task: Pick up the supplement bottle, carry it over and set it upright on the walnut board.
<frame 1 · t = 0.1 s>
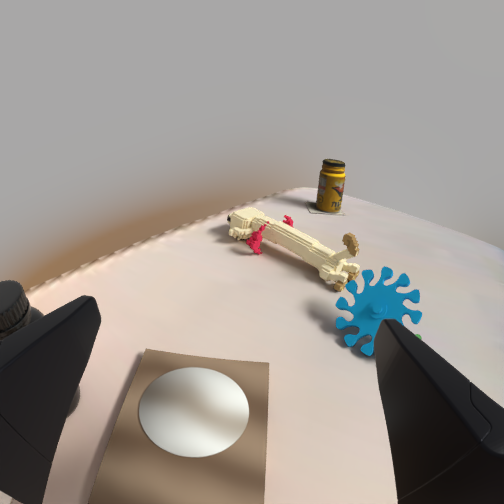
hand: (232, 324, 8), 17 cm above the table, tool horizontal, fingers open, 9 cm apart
walnut board: (184, 466, 17), on the table
cat figure: (282, 255, 48), on the table
supplement bottle: (54, 398, 20), on the table
condiment: (324, 209, 68), on the table
blue piece: (371, 339, 30), on the table
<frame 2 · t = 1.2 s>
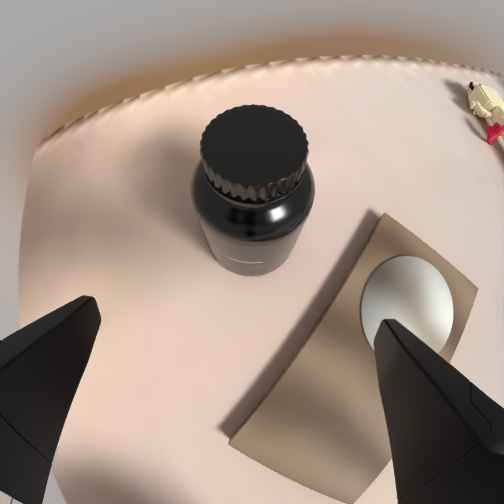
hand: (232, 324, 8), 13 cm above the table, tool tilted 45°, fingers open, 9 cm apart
walnut board: (375, 365, 20), on the table
supplement bottle: (252, 237, 23), on the table
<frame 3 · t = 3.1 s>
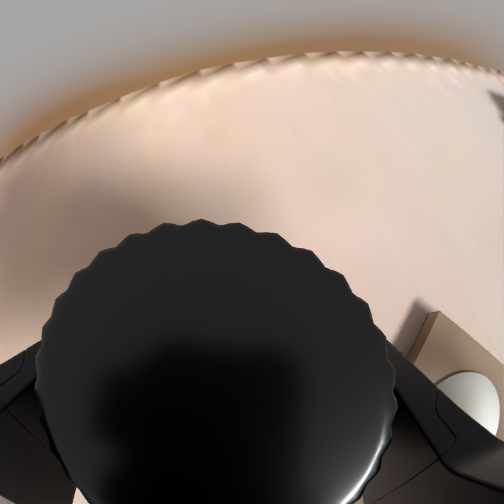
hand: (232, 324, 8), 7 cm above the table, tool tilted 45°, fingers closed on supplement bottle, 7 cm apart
walnut board: (394, 500, 11), on the table
supplement bottle: (238, 357, 14), on the table, touching gripper
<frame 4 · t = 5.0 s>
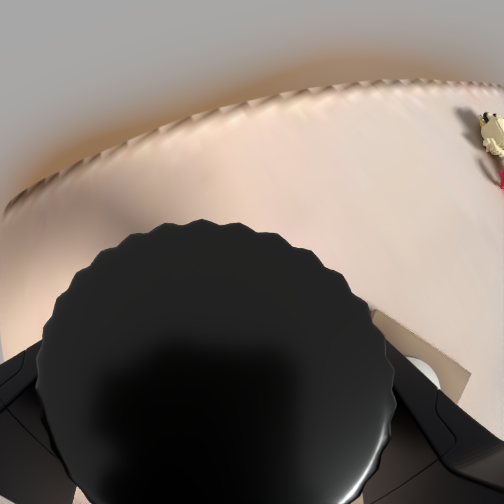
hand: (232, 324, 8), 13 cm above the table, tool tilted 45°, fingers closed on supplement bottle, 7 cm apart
walnut board: (354, 458, 18), on the table
supplement bottle: (237, 356, 14), point 6 cm above the table, touching gripper
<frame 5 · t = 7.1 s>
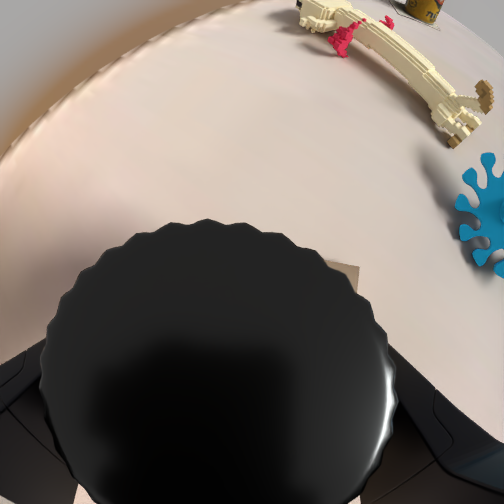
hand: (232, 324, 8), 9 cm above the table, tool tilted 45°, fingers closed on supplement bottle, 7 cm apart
walnut board: (226, 426, 15), on the table
cat figure: (375, 65, 25), on the table
supplement bottle: (235, 356, 14), point 2 cm above the table, touching gripper
condiment: (413, 15, 31), on the table
blue piece: (483, 236, 19), on the table
when the fingers open (9 cm above the table, at t = 7.4 s): supplement bottle stays where it is, resting on walnut board.
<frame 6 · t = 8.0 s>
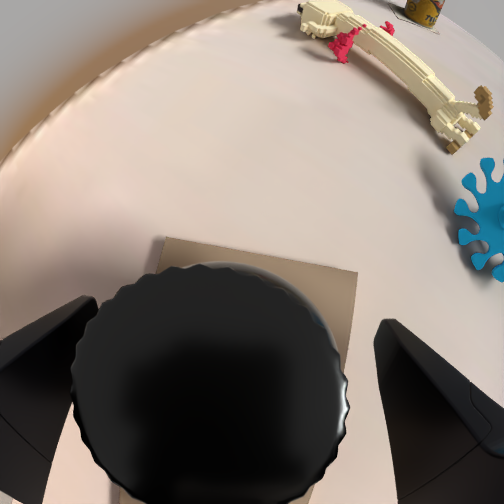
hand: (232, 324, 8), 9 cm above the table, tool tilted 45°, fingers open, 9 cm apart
walnut board: (226, 429, 15), on the table
cat figure: (375, 71, 25), on the table
supplement bottle: (235, 358, 15), point 1 cm above the table, touching walnut board
condiment: (413, 19, 31), on the table
blue piece: (482, 240, 19), on the table
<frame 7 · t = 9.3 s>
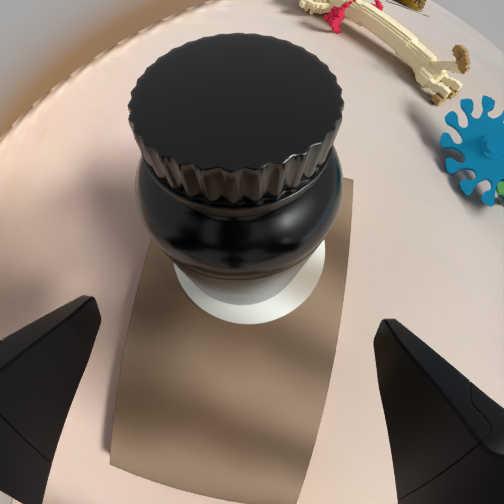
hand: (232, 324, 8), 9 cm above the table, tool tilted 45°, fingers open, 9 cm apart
walnut board: (232, 331, 17), on the table
cat figure: (366, 41, 27), on the table
supplement bottle: (243, 249, 17), point 1 cm above the table, touching walnut board
condiment: (403, 3, 33), on the table
blue piece: (470, 175, 21), on the table
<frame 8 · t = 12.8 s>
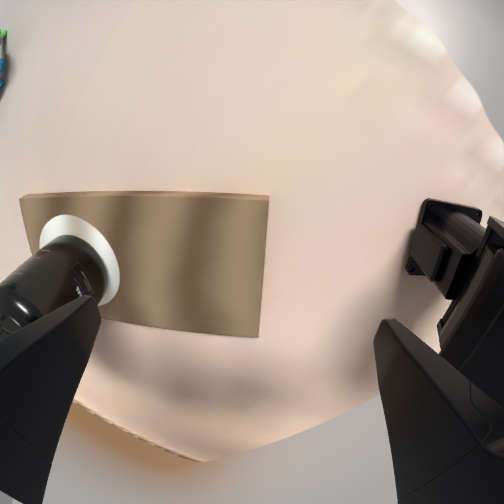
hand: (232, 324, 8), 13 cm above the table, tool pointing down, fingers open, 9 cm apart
walnut board: (130, 260, 23), on the table
supplement bottle: (79, 265, 22), point 1 cm above the table, touching walnut board
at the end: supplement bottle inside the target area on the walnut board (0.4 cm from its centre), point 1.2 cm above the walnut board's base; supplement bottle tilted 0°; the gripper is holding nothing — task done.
